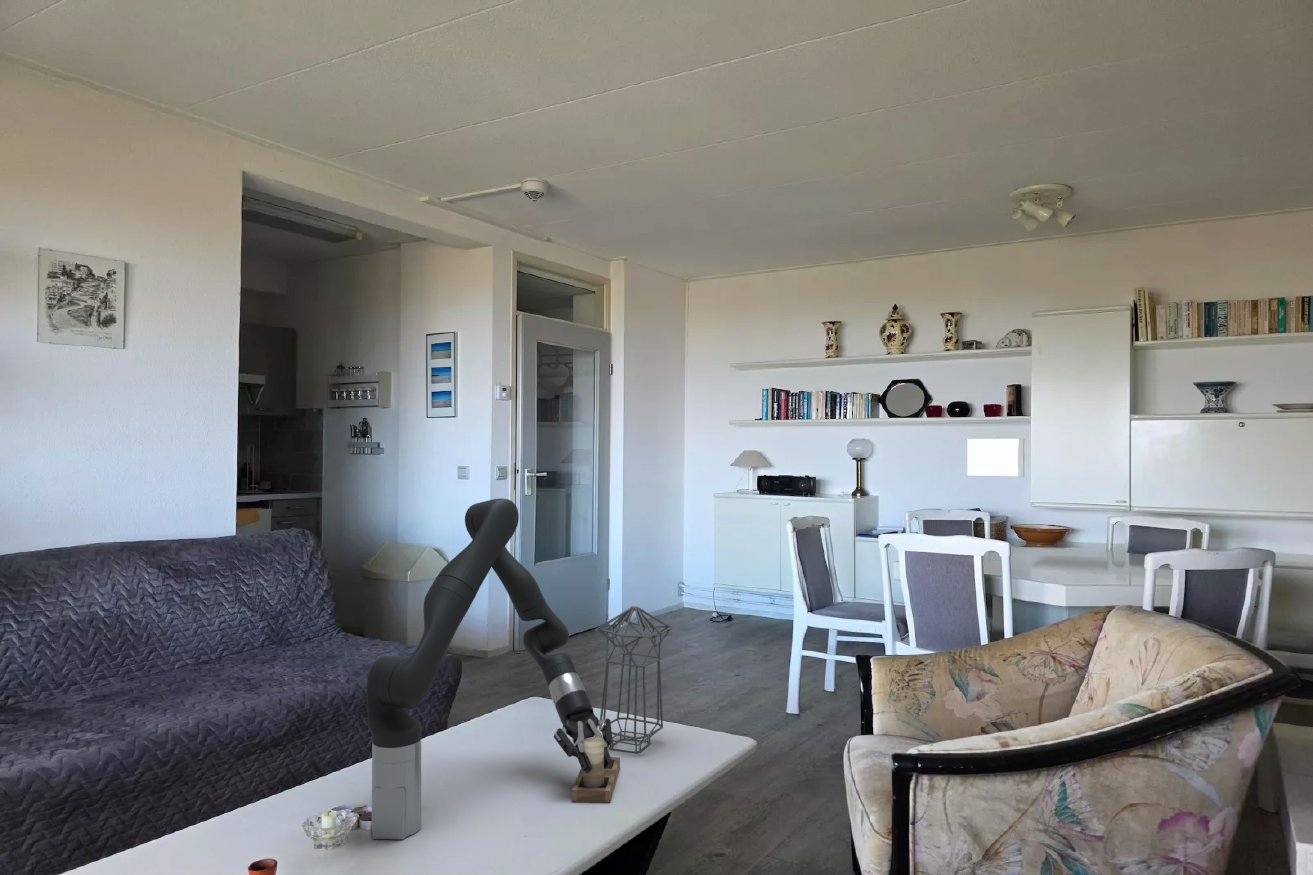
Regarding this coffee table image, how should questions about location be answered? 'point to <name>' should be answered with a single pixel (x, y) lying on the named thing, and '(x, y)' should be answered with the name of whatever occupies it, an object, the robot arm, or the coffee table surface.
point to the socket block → (597, 794)
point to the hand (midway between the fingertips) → (598, 768)
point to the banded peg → (594, 762)
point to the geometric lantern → (642, 623)
